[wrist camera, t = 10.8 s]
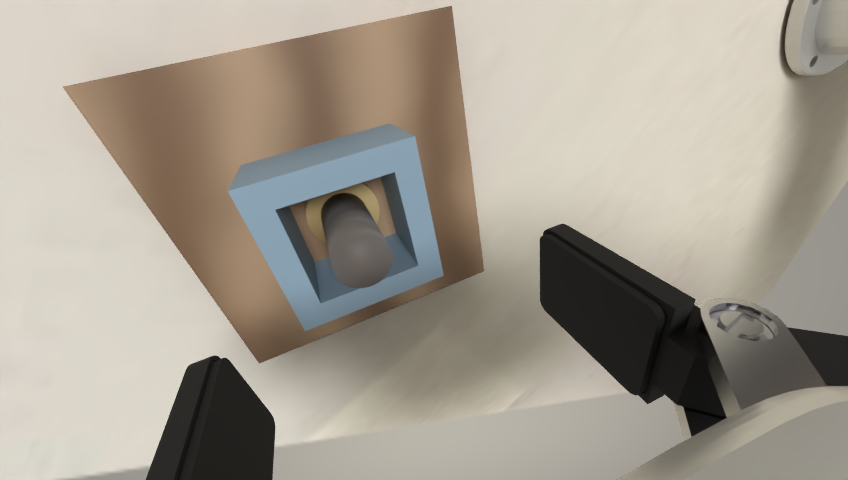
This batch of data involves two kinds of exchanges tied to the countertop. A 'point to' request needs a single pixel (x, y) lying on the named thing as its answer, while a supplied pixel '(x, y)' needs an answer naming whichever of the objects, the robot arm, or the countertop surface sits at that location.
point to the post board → (286, 131)
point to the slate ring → (323, 173)
